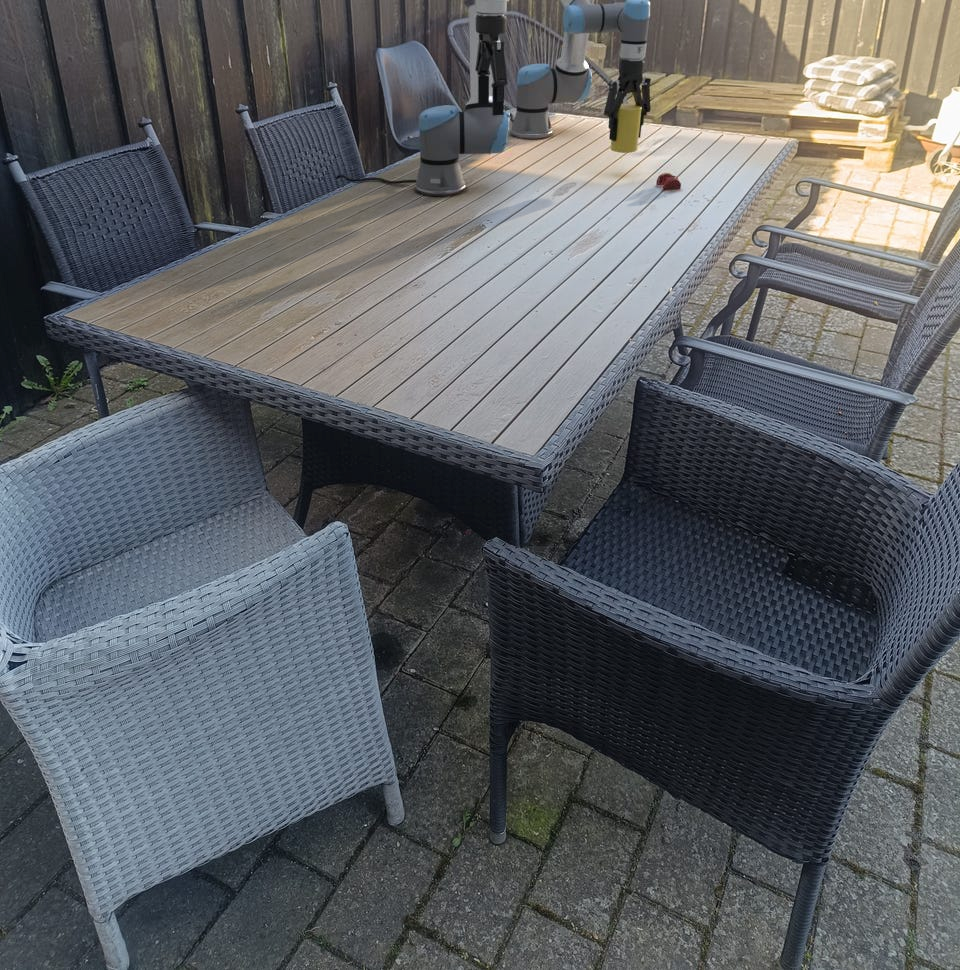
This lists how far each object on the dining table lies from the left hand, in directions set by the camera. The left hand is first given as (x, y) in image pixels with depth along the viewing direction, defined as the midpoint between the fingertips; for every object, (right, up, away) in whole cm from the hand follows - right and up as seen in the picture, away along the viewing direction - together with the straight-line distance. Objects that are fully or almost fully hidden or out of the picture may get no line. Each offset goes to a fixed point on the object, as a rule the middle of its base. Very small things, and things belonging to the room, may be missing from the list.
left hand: (490, 109), depth 214 cm
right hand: (+43, +14, +51) cm, 68 cm away
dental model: (+55, -4, +46) cm, 72 cm away
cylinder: (+43, +11, +53) cm, 69 cm away
